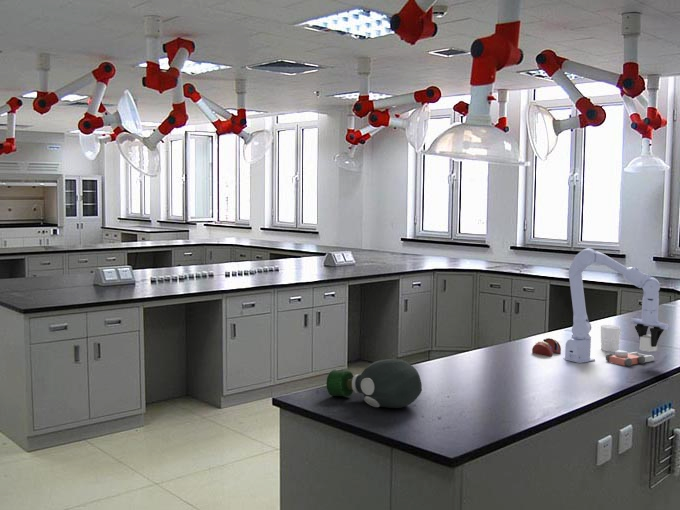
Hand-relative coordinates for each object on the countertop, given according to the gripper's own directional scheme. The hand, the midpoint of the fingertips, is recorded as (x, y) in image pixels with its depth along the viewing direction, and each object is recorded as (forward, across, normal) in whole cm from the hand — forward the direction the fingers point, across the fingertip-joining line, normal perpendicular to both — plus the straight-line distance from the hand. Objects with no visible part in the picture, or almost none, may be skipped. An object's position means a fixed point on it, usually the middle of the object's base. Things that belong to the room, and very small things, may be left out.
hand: (648, 345), depth 261 cm
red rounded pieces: (+9, +35, +16) cm, 40 cm away
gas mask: (+9, +14, +116) cm, 117 cm away
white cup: (+9, +26, -13) cm, 31 cm away
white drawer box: (+2, 0, 0) cm, 2 cm away
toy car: (+8, +9, -3) cm, 13 cm away
